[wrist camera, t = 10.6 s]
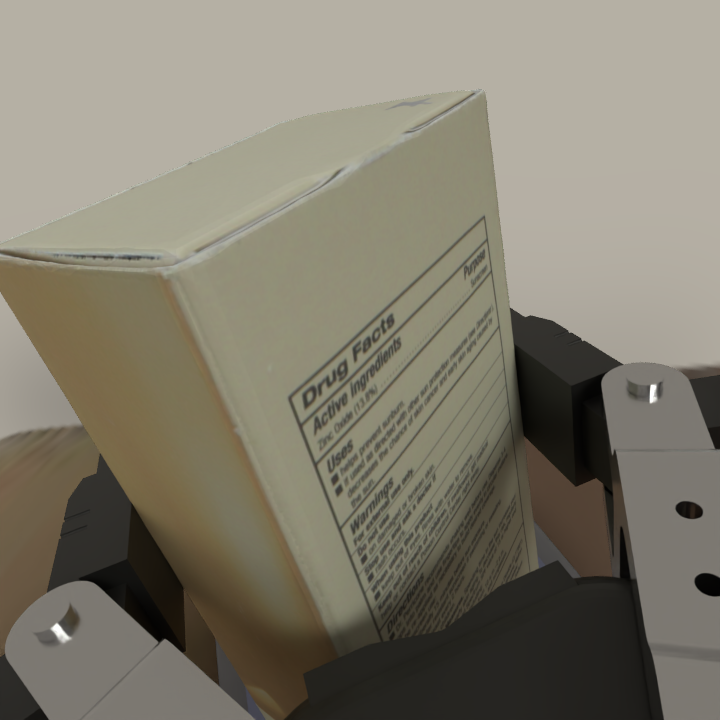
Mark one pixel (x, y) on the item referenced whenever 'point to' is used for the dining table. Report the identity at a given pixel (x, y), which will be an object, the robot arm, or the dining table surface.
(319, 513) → the skincare box
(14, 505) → the dining table surface
